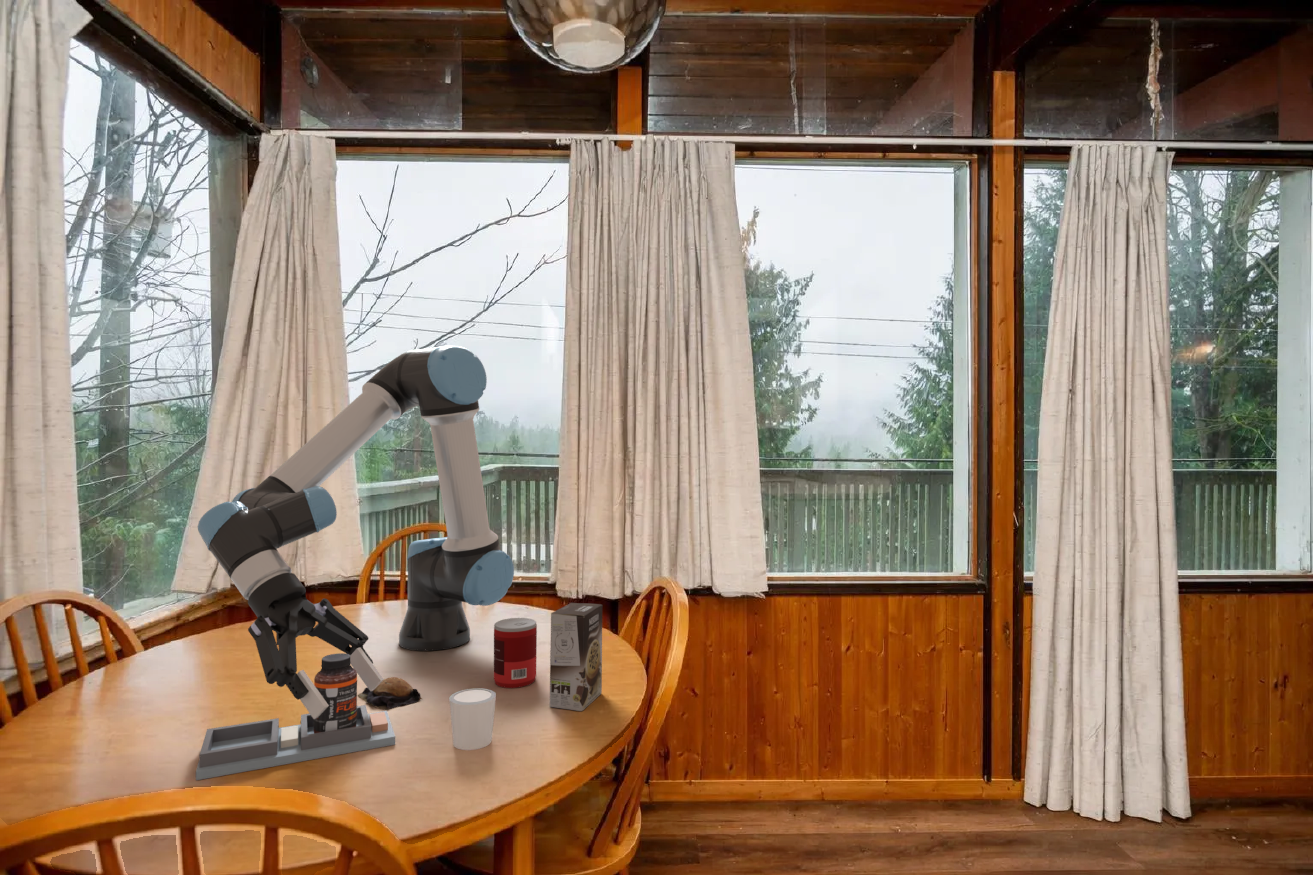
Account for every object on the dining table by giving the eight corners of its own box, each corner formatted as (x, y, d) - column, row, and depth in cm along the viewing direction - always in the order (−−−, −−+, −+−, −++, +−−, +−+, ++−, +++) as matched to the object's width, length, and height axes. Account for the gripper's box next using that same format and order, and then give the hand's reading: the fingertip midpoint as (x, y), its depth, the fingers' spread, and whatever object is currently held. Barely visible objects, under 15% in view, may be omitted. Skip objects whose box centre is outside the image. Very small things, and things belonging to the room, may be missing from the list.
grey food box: (583, 712, 118) (584, 615, 118) (548, 707, 120) (549, 612, 120) (603, 693, 127) (604, 603, 127) (570, 689, 129) (570, 600, 129)
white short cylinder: (453, 755, 102) (454, 707, 102) (444, 737, 108) (444, 691, 108) (501, 746, 105) (501, 699, 105) (489, 729, 111) (489, 684, 111)
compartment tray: (386, 717, 115) (386, 699, 115) (395, 744, 105) (395, 724, 105) (205, 747, 104) (205, 727, 104) (195, 780, 94) (195, 757, 94)
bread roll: (353, 699, 125) (353, 678, 125) (399, 687, 131) (399, 667, 131) (381, 715, 117) (381, 693, 117) (428, 702, 124) (428, 680, 124)
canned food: (544, 677, 135) (544, 620, 135) (519, 691, 128) (519, 630, 128) (511, 671, 138) (511, 615, 138) (485, 684, 131) (485, 625, 131)
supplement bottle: (340, 741, 103) (340, 664, 103) (304, 738, 104) (304, 661, 104) (365, 725, 109) (365, 652, 109) (330, 722, 110) (331, 649, 110)
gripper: (314, 587, 122) (388, 687, 118) (187, 620, 100) (272, 745, 95) (339, 558, 121) (415, 659, 116) (215, 585, 99) (303, 711, 94)
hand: (350, 698), depth 106 cm, fingers open, 11 cm apart
